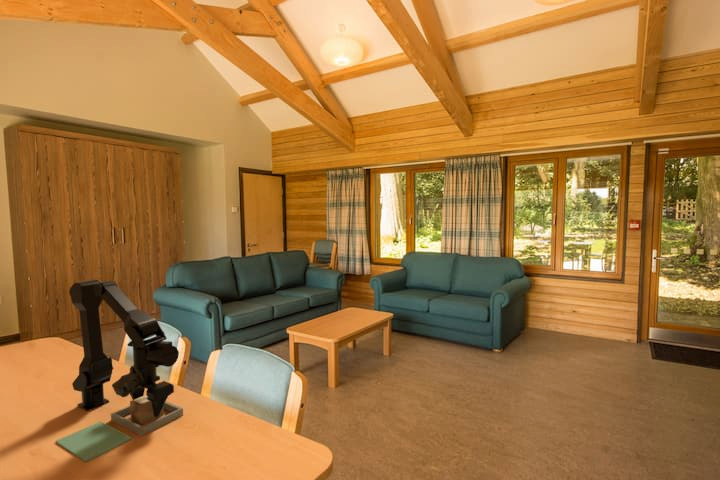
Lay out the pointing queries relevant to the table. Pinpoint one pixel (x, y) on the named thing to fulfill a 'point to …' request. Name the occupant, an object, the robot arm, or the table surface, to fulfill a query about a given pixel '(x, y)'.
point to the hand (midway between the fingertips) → (147, 412)
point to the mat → (93, 441)
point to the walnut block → (142, 410)
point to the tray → (140, 430)
